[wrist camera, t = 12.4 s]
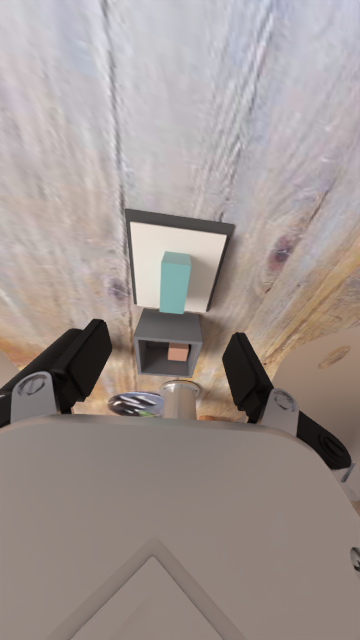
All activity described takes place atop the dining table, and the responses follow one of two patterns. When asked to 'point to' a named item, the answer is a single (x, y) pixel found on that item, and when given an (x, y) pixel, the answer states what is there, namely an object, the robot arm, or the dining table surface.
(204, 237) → the lid
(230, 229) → the mat
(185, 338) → the storage box
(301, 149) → the dining table surface
